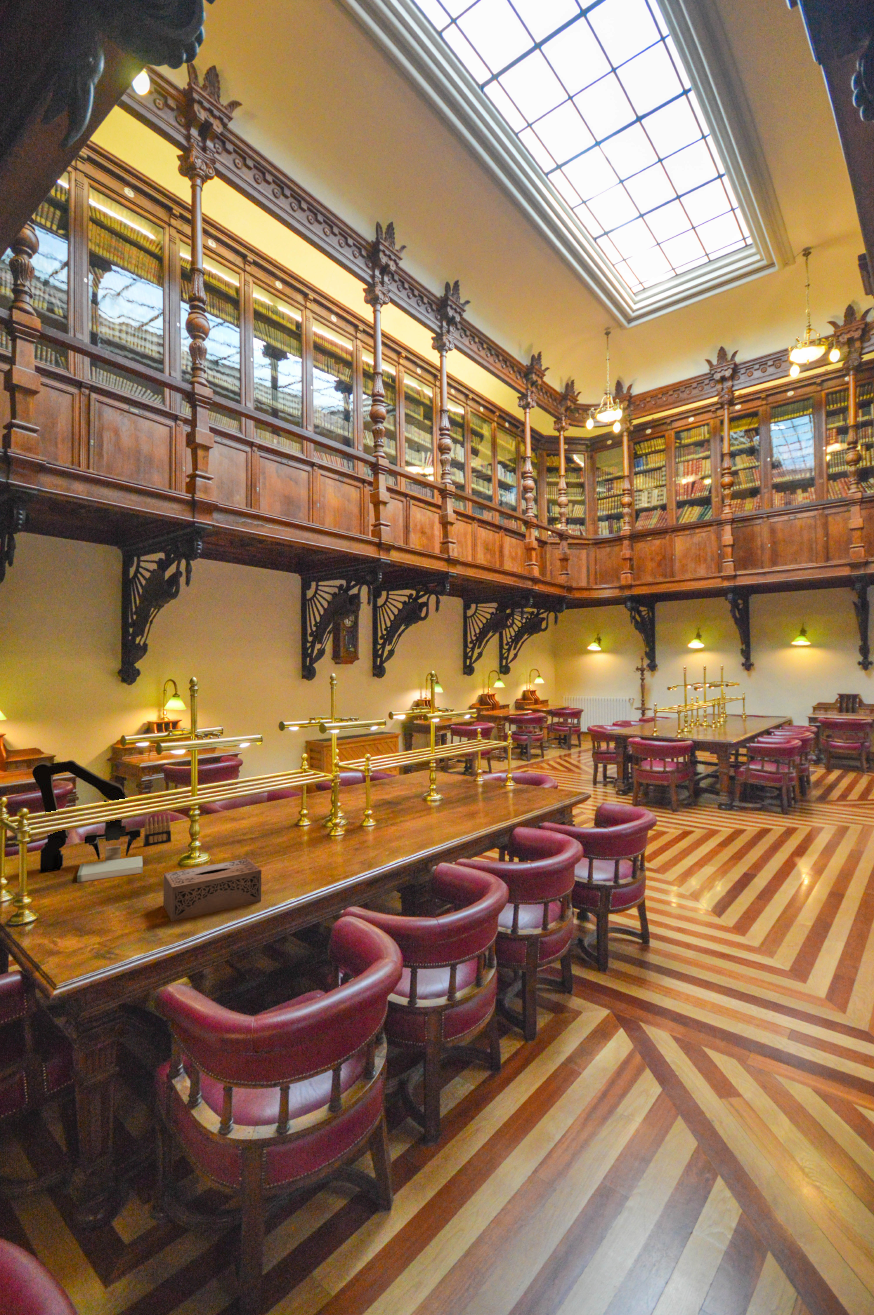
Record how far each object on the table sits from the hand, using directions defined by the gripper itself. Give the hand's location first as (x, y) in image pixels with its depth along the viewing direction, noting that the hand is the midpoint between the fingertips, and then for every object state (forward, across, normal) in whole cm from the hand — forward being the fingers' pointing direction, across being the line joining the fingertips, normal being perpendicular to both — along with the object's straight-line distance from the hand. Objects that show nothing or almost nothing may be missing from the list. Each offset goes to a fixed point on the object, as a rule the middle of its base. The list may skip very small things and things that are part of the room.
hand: (112, 857), depth 219 cm
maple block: (+1, 0, 0) cm, 1 cm away
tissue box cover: (+2, +29, -64) cm, 70 cm away
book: (+2, 0, -14) cm, 14 cm away
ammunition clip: (+2, +16, +18) cm, 24 cm away
